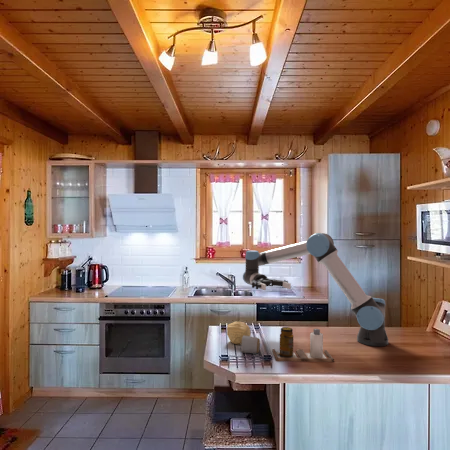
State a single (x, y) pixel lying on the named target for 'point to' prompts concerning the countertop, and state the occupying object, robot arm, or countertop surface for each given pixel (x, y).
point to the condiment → (286, 343)
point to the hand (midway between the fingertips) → (277, 286)
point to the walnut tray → (305, 357)
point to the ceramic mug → (250, 344)
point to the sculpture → (237, 332)
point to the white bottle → (316, 344)
